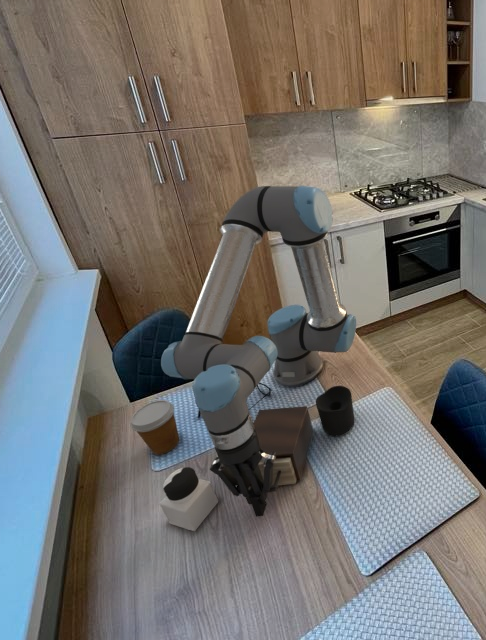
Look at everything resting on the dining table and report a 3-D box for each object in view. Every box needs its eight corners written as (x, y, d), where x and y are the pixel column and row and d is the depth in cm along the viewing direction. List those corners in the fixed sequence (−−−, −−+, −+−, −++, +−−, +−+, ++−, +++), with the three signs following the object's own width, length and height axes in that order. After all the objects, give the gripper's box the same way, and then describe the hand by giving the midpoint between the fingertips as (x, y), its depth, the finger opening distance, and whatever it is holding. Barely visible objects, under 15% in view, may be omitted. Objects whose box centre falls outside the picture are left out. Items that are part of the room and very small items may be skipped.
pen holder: (323, 414, 117) (317, 388, 113) (356, 409, 119) (351, 383, 114) (320, 441, 109) (314, 414, 105) (355, 435, 110) (351, 408, 106)
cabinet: (300, 480, 99) (292, 453, 95) (247, 485, 98) (237, 458, 94) (313, 431, 112) (307, 406, 108) (267, 435, 111) (259, 409, 107)
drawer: (289, 503, 93) (282, 481, 89) (238, 508, 92) (230, 486, 89) (308, 437, 109) (303, 416, 106) (265, 440, 108) (258, 419, 105)
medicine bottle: (219, 501, 94) (204, 466, 89) (194, 532, 88) (177, 497, 83) (195, 494, 96) (179, 459, 91) (169, 523, 90) (150, 488, 85)
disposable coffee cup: (182, 452, 107) (168, 419, 102) (140, 465, 104) (123, 432, 99) (189, 425, 115) (175, 394, 110) (150, 436, 112) (134, 404, 107)
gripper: (191, 455, 77) (224, 530, 87) (261, 449, 77) (286, 524, 87) (209, 423, 83) (238, 496, 93) (273, 418, 84) (295, 491, 94)
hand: (261, 510), depth 90 cm, fingers closed
